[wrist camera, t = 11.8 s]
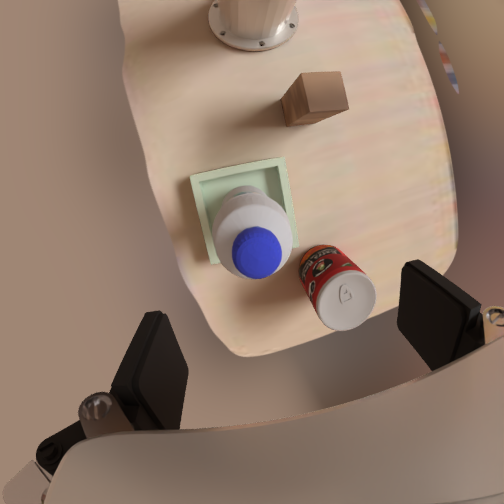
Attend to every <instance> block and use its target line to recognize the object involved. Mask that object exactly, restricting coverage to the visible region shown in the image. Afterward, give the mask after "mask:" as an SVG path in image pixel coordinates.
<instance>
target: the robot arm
mask: <svg viewBox="0 0 504 504" xmlns="http://www.w3.org/2000/svg"><path fill="white" fill-rule="evenodd" d="M296 1H297V0H215V1H214V2H213V3H212V5H211V7H210V9H209V14H208V19H209V25H210V28H211V30H212V32H213V33H214V34H215V35H216V37H217V38H218V39H220V40H221V41H222V42H224V43H225V44H227V45H229V46H231V47H234V48H237V49H241V50H246V51H264V50H269V49H273V48H275V47H278V46H280V45H282V44H284V43H285V42H287V41H288V40H289V39H290V38H291V37H292V36H293V34H294V33H295V31H296V29H297V27H298V22H299V16H298V12H297V9H296V7H295V6H294V5H295V3H296ZM216 7H217V8H216ZM290 27H291V28H290ZM221 35H224V36H221ZM260 45H263V46H260ZM480 308H481V304H480V303H479V302H478V301H476V300H475V299H474V298H472V297H471V296H470V295H468V294H467V293H466V292H464V291H463V290H462V289H460V288H459V287H458V286H456V285H455V284H454V283H452V282H451V281H449V280H448V279H447V278H445V277H444V276H442V275H441V274H440V273H438V272H437V271H435V270H434V269H432V268H431V267H429V266H428V265H426V264H425V263H424V262H422V261H421V260H418V259H417V260H413V261H409V262H406V263H405V265H404V267H403V268H402V272H401V287H400V299H399V309H398V317H397V325H398V328H399V330H400V331H401V333H402V334H403V335H404V336H405V338H406V339H407V340H408V341H409V342H410V344H411V345H412V346H413V347H414V349H415V350H416V351H417V352H418V354H419V355H420V356H421V357H422V359H423V360H424V361H425V363H426V364H427V365H428V366H429V368H430V369H431V370H432V372H430V373H428V374H425V375H423V376H421V377H418V378H416V379H414V380H412V381H409V382H406V383H404V384H401V385H399V386H396V387H393V388H391V389H388V390H385V391H383V392H380V393H377V394H374V395H371V396H368V397H365V398H362V399H358V400H355V401H352V402H349V403H345V404H342V405H338V406H335V407H331V408H327V409H323V410H319V411H315V412H310V413H306V414H301V415H297V416H292V417H287V418H281V419H276V420H270V421H264V422H257V423H250V424H242V425H234V426H224V427H212V428H199V429H180V422H181V415H182V409H183V403H184V397H185V390H186V385H187V379H188V366H187V363H186V361H185V359H184V356H183V354H182V352H181V349H180V347H179V344H178V342H177V339H176V337H175V334H174V332H173V329H172V327H171V324H170V322H169V319H168V316H167V315H166V314H163V313H162V312H161V311H153V312H146V313H145V315H144V317H143V319H142V321H141V323H140V325H139V327H138V329H137V331H136V333H135V335H134V337H133V339H132V341H131V343H130V346H129V347H128V349H127V351H126V354H125V356H124V358H123V360H122V362H121V364H120V366H119V369H118V371H117V373H116V375H115V378H114V380H113V382H112V384H111V386H112V388H111V390H110V392H109V393H108V392H97V393H94V394H91V395H90V396H88V397H87V398H85V399H84V401H82V403H81V405H80V406H79V410H78V415H79V419H80V420H79V421H77V422H75V423H74V424H72V425H70V426H68V427H67V428H65V429H63V430H61V431H60V432H58V433H56V434H55V435H52V436H51V437H49V438H47V439H45V440H44V441H43V442H42V443H41V444H40V445H39V446H38V449H37V452H36V460H37V461H36V462H34V461H33V460H31V461H30V462H29V463H28V464H27V465H26V466H25V467H24V468H23V469H22V470H21V471H19V473H17V474H16V475H15V476H14V477H13V478H12V479H11V480H10V481H9V482H8V483H7V484H6V485H5V487H4V490H3V499H4V501H5V503H6V504H504V308H502V307H498V306H491V307H488V308H486V309H485V310H484V312H483V314H481V313H480ZM179 429H180V430H179Z"/></svg>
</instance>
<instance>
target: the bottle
mask: <svg viewBox="0 0 504 504" xmlns="http://www.w3.org/2000/svg"><path fill="white" fill-rule="evenodd" d="M212 238H213V242H214V246H215V250H216V254H217V256H218V258H219V260H220V262H221V263H222V265H223V266H224V267H225V268H226V269H227V270H228V271H229V272H231V273H232V274H234V275H236V276H239V277H241V278H245V279H261V278H265V277H267V276H270V275H272V274H274V273H275V272H277V271H278V270H279V269H280V268H281V267H282V266H283V265H284V264H285V263H286V261H287V260H288V258H289V256H290V253H291V250H292V245H293V238H292V232H291V228H290V222H289V219H288V216H287V214H286V213H285V211H284V210H283V208H282V207H281V206H280V205H279V204H278V203H277V202H275V201H274V200H272V199H270V198H269V197H267V195H266V194H265V193H264V192H263V191H262V190H260V189H259V188H256V187H254V186H249V185H247V186H239V187H236V188H234V189H232V190H231V191H230V192H229V193H228V194H227V195H226V197H225V198H224V200H223V202H222V206H221V209H220V210H219V212H218V213H217V215H216V217H215V220H214V223H213V227H212Z"/></svg>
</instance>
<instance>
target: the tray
mask: <svg viewBox="0 0 504 504" xmlns="http://www.w3.org/2000/svg"><path fill="white" fill-rule="evenodd" d="M190 181H191V185H192V189H193V194H194V198H195V202H196V207H197V211H198V215H199V219H200V223H201V228H202V232H203V236H204V240H205V244H206V248H207V251H208V255H209V259H210V263H211V265H212V264H217V263H221V262H220V260H219V258H218V256H217V254H216V250H215V246H214V242H213V238H212V227H213V223H214V220H215V217H216V215H217V213H218V212H219V210H220V209H221V206H222V202H223V200H224V198H225V197H226V195H227V194H228V193H229V192H230V191H231V190H232V189H234V188H236V187H239V186H247V185H249V186H254V187H256V188H259V189H260V190H262V191H263V192H264V193H265V194H266V195H267V197H269V198H270V199H272V200H274V201H275V202H277V203H278V204H279V205H280V206H281V207H282V208H283V210H284V211H285V213H286V214H287V216H288V219H289V222H290V228H291V232H292V238H293V245H292V248H296V247H299V242H298V235H297V228H296V222H295V215H294V209H293V203H292V197H291V191H290V185H289V179H288V173H287V168H286V162H285V157H278V158H272V159H266V160H261V161H255V162H250V163H245V164H240V165H235V166H230V167H225V168H220V169H216V170H211V171H207V172H203V173H198V174H194V175H191V176H190Z"/></svg>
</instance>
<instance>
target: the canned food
mask: <svg viewBox="0 0 504 504" xmlns="http://www.w3.org/2000/svg"><path fill="white" fill-rule="evenodd" d="M299 277H300V281H301V283H302V285H303V287H304V289H305V291H306V293H307V295H308V297H309V299H310V301H311V303H312V305H313V307H314V309H315V311H316V313H317V315H318V317H319V319H320V320H321V321H322V322H323V324H324V325H325V326H327V327H328V328H330V329H332V330H337V331H345V330H350V329H352V328H355V327H356V326H358V325H360V324H361V323H363V322H364V321H365V320H366V319H367V318H368V317H369V315H370V314H371V312H372V311H373V308H374V306H375V303H376V289H375V286H374V284H373V282H372V281H371V279H370V278H369V277H368V276H367V275H366V274H365V273H364V272H363V271H362V270H361V269H360V268H359V267H358V266H357V265H356V264H355V263H353V262H352V261H351V260H350V259H349V258H348V257H347V256H346V255H345V254H344V253H343V252H341V251H340V250H339V249H338V248H336V247H334V246H331V245H319V246H316V247H314V248H312V249H310V250H309V251H308V252H307V253H306V254H305V255H304V256H303V258H302V260H301V263H300V267H299Z"/></svg>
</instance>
